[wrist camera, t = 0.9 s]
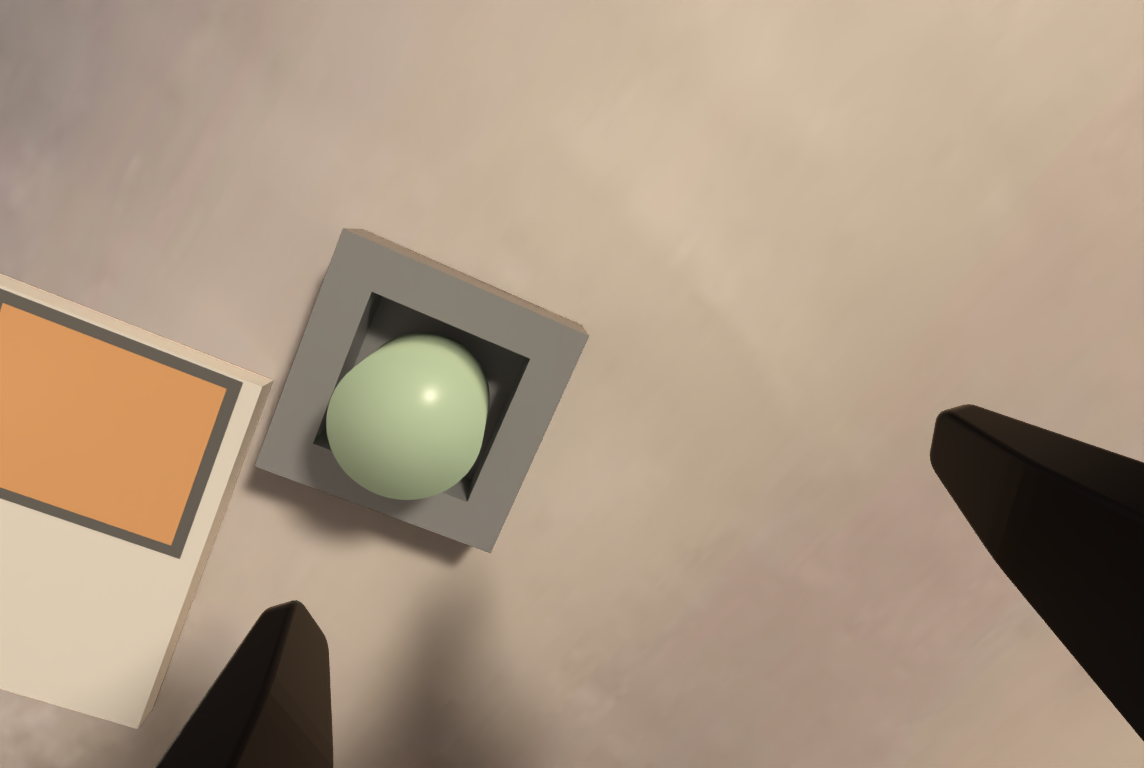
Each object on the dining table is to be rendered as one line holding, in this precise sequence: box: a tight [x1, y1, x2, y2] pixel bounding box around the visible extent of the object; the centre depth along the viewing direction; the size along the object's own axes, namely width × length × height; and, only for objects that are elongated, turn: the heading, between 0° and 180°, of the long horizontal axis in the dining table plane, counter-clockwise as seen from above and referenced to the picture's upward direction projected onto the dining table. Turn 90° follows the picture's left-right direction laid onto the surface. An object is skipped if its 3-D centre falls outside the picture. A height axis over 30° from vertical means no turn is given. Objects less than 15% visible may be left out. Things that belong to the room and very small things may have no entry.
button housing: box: [255, 228, 589, 553], centre depth 22 cm, size 8×8×2 cm
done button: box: [326, 332, 490, 500], centre depth 19 cm, size 4×4×4 cm
